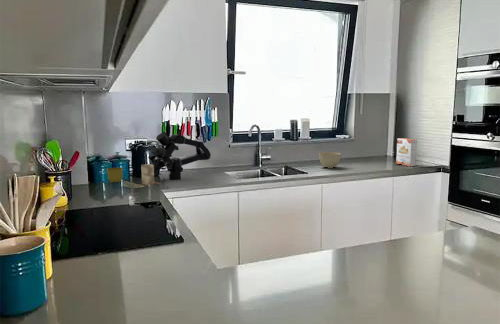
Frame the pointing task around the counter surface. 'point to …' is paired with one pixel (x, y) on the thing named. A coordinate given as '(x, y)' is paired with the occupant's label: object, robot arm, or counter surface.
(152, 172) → the beech block
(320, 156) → the planter bowl
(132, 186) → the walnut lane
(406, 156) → the cracker box
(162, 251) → the counter surface
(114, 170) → the flower pot
